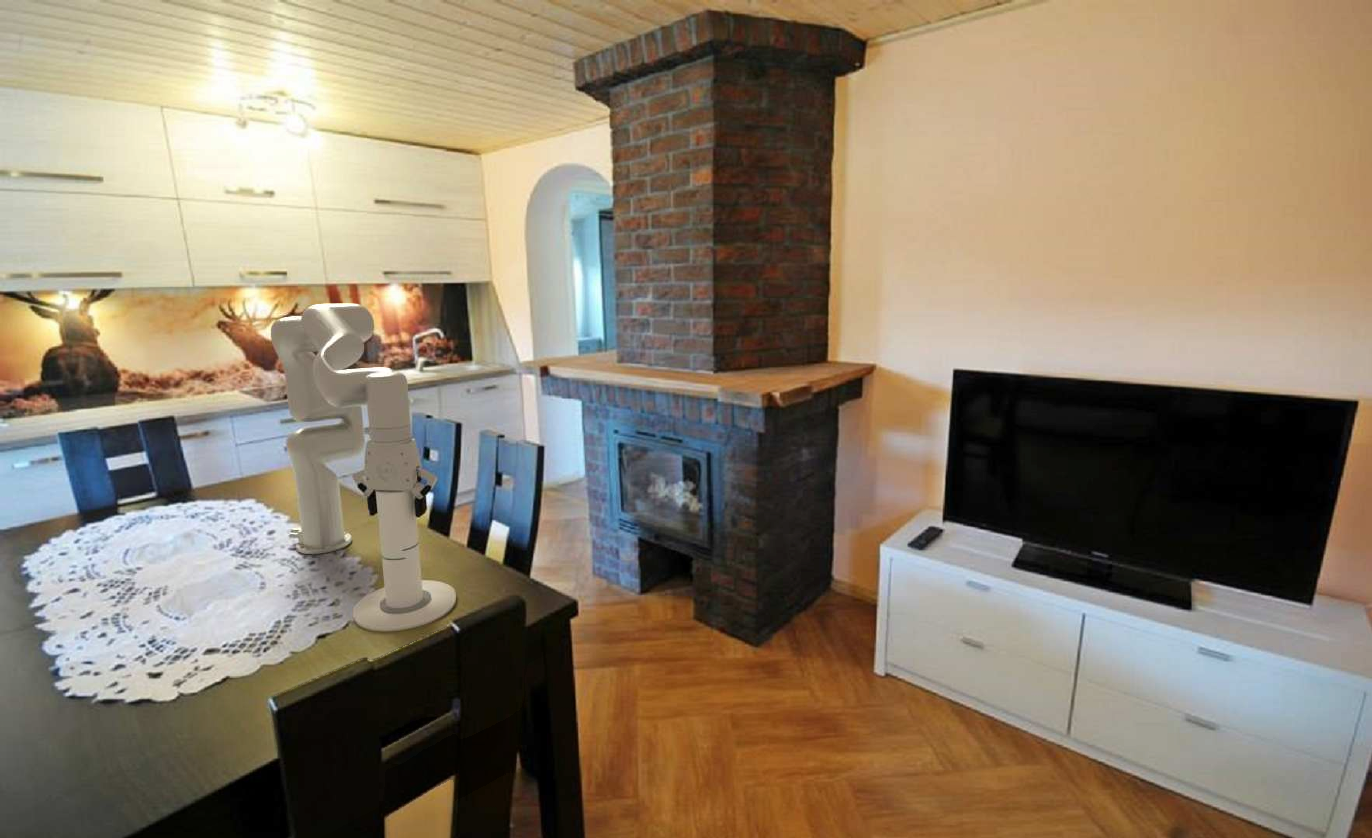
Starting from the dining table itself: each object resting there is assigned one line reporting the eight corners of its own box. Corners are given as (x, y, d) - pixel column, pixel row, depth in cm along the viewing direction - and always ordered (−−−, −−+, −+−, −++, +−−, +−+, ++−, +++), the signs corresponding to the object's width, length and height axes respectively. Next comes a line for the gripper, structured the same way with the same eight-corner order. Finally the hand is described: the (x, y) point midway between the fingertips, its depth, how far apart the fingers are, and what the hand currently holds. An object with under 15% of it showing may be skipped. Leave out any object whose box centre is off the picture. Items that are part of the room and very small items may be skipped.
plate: (332, 629, 123) (331, 622, 123) (385, 582, 143) (385, 576, 142) (430, 633, 122) (429, 627, 122) (470, 586, 142) (470, 580, 141)
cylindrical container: (428, 599, 132) (419, 487, 127) (394, 611, 127) (384, 496, 122) (413, 588, 137) (404, 480, 132) (380, 599, 132) (369, 487, 127)
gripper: (338, 437, 121) (346, 519, 125) (424, 439, 120) (430, 522, 124) (360, 428, 129) (367, 506, 132) (441, 430, 128) (446, 509, 131)
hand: (398, 514), depth 128 cm, fingers open, 9 cm apart
